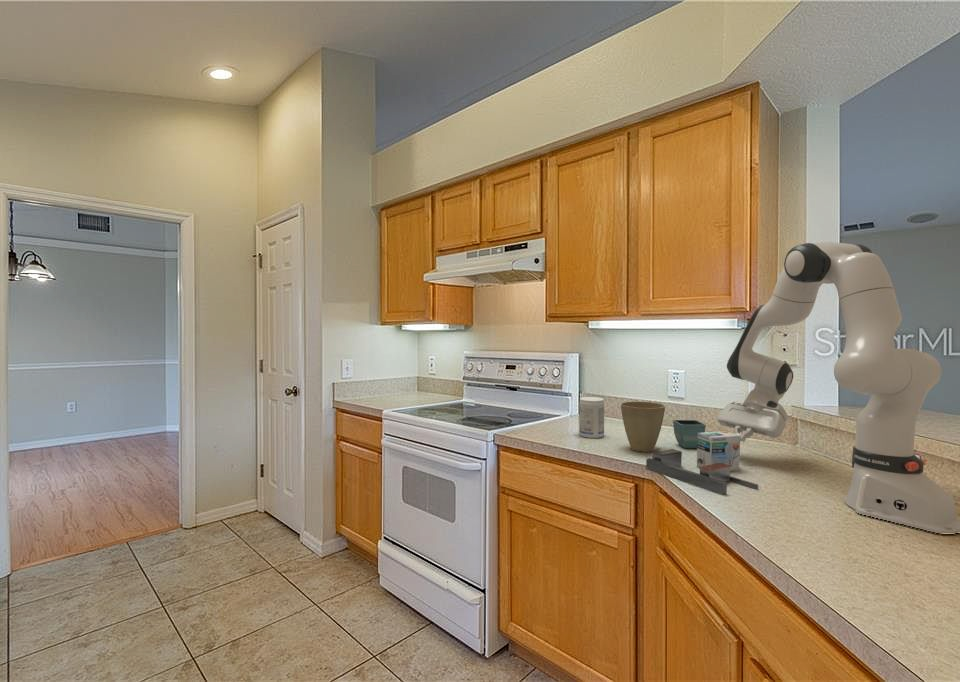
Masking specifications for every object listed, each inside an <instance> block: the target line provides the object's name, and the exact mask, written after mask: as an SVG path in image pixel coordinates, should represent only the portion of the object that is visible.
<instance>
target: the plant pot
mask: <svg viewBox="0 0 960 682" xmlns="http://www.w3.org/2000/svg"><path fill="white" fill-rule="evenodd" d="M665 409H666V405H665V404H662V403H658V402H652V401H651V402H650V401H637V400H636V401H624V402H621V403H620V410H621V411H620V412H621V417H622V422H623V427H624V430H625V434H626V437H627V440H628V444H629V447H630V449H631V450H632V449H633V450H632V451H635V450H636V452H639V451H642V452H641V453H649V452H650V451H651V452H654V449H655V447H656V445H657V442H658V439H659V436H660V433H661V430H662V426H663V421H664V418H665V417H664V416H665V411H666V410H665Z"/></svg>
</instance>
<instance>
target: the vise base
mask: <svg viewBox="0 0 960 682" xmlns="http://www.w3.org/2000/svg"><path fill="white" fill-rule="evenodd" d="M651 453H652V455H651V456H652V457H651V458H650V457H648V458H645V460H646V463H645V466H646V467H645V468H646V470H650V471H653V472H656V473H658V474H662V475H664V476H667V477H670V478H672V479H676V480H679V481H681V482H684V483H687V484H690V485H693V486H695V487H699V488H702V489H704V490H708V491H709V492H710V491H711V492H714V493H716V494H719V495H723V496H724V495H727V494H728V493H727V491H728V487H727V486H728V482H727V481H726V482H723V481H720V480H717V479H714V478H711V477H707V476H704V475H701V474H700V473H698V472H694V471H691V470H688V469H685V468H683V467H682V459H683V458H682V454H683V452H682V451H681V450H679V449H678V450H677V449H674V448H669V449H663V450H658V451H651ZM729 482H731V483H734V484H738V485H740V486H744V487H747V488H751V489H753V490H756V491H757V490H759V484H757V483H754V482H751V481H747V480H744V479H741V478H737V477H736V476H735V477H734V476H731V475H730V481H729Z"/></svg>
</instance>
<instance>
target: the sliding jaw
mask: <svg viewBox="0 0 960 682" xmlns="http://www.w3.org/2000/svg"><path fill="white" fill-rule="evenodd" d="M699 474H701V475H704V476H707V477H711V478H714V479H717V480H720V481H723V482H726V483H727V482H731V481H730V476H731V471H730V465H728V464H724V463H716V464H711V465H706V466H701V467H699Z"/></svg>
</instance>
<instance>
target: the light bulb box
mask: <svg viewBox="0 0 960 682" xmlns="http://www.w3.org/2000/svg"><path fill="white" fill-rule="evenodd" d="M740 449H741V441H740V436H739V435H736V434H735V433H732V432H729V431H725V430H724V431H723V430H722V431H721V430H720V431H708V432H707V431H705V432H703V433H698V443H697V448H696V452H697V453H696V467H698V468H700V467H701V466H706V465H711V464H716V463H724V464H728V465H730V472H732V471H740V458H741V457H740V452H741V450H740Z"/></svg>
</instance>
